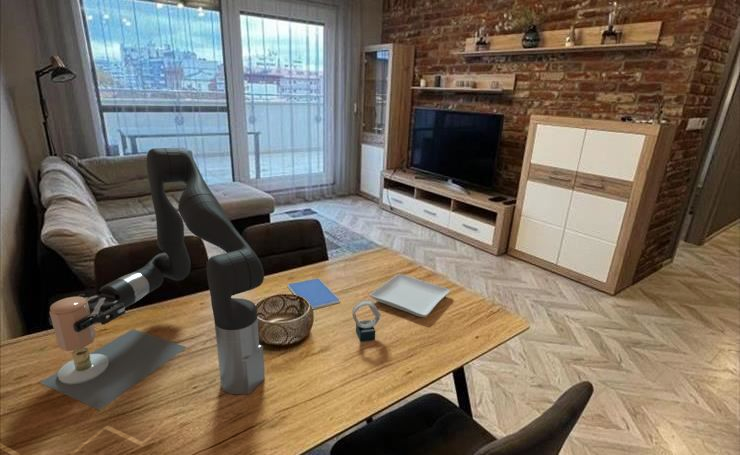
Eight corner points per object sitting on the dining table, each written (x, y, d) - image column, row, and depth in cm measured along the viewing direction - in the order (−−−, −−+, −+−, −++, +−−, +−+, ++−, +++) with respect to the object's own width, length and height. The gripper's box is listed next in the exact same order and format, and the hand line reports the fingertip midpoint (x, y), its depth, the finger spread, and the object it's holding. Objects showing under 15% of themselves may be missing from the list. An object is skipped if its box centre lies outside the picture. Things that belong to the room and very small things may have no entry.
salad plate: (450, 297, 139) (451, 288, 138) (425, 324, 122) (426, 314, 121) (398, 280, 150) (398, 272, 148) (367, 303, 132) (368, 294, 131)
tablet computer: (286, 286, 142) (286, 283, 141) (318, 280, 148) (318, 276, 147) (305, 312, 126) (305, 309, 126) (341, 303, 132) (341, 300, 132)
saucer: (118, 363, 98) (117, 360, 98) (77, 389, 90) (76, 386, 89) (90, 353, 102) (90, 349, 101) (48, 377, 93) (47, 373, 93)
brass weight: (94, 364, 96) (91, 349, 95) (81, 372, 93) (77, 357, 92) (85, 361, 97) (82, 346, 96) (72, 369, 94) (68, 353, 93)
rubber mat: (187, 348, 106) (186, 347, 106) (99, 412, 85) (99, 409, 84) (133, 330, 112) (132, 328, 112) (39, 384, 91) (39, 382, 91)
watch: (381, 339, 113) (383, 305, 110) (354, 342, 111) (355, 308, 108) (376, 328, 118) (377, 295, 115) (349, 331, 116) (350, 298, 113)
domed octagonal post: (101, 337, 95) (92, 300, 91) (72, 353, 89) (62, 314, 86) (82, 330, 97) (73, 294, 94) (53, 345, 91) (43, 307, 88)
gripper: (101, 273, 105) (35, 304, 90) (145, 283, 101) (83, 317, 86) (106, 298, 107) (42, 332, 92) (149, 308, 103) (90, 345, 88)
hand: (62, 325), depth 89 cm, fingers closed on domed octagonal post, 7 cm apart
